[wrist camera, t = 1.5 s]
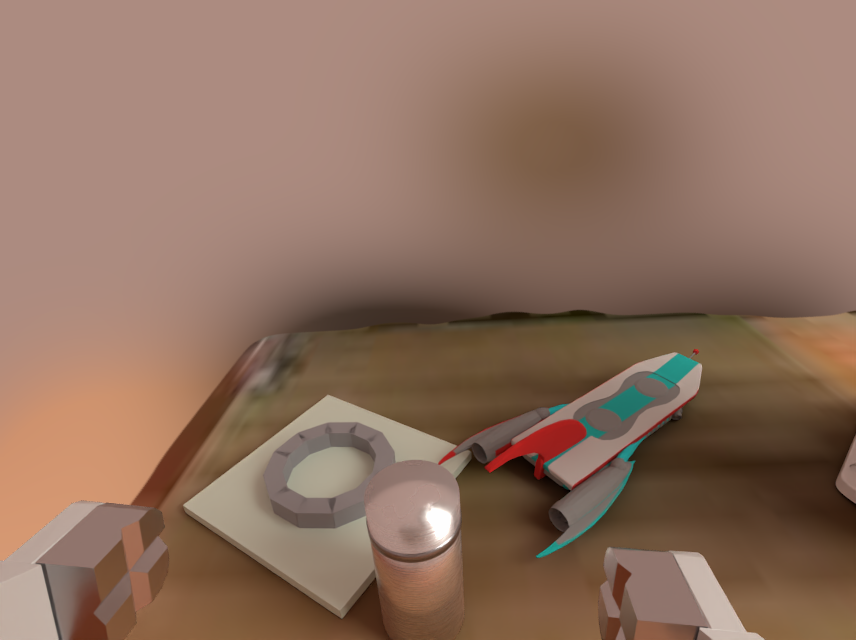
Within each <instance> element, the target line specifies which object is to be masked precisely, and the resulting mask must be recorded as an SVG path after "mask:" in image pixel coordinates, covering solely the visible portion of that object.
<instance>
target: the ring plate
mask: <svg viewBox="0 0 856 640" xmlns="http://www.w3.org/2000/svg"><path fill="white" fill-rule="evenodd" d="M455 447H457V446H456V445H454V444H451V443H449V442H446V441H443V440H441V439H438V438H436V437H433V436H431V435H428V434H426V433H423V432H421V431H418V430H416V429H413V428H411V427H408V426H406V425H403V424H401V423H398V422H396V421H393V420H391V419H388V418H385V417H383V416H380V415H378V414H375V413H373V412H370V411H368V410H365V409H363V408H360V407H358V406H355V405H353V404H350V403H348V402H345V401H343V400H340V399H338V398H335V397H332V396H330V395H327V396H326V397H324V398H323V399H322V400H321V401H319V402H318V403H317V404H315V405H314V406H313V407H311V408H310V409H309V410H307V411H306V412H305V413H303V414H302V415H301V416H299V417H298V418H297V419H296V420H294V421H293V422H292V423H290V424H289V425H288V426H286V427H285V428H284V429H282V430H281V431H280V432H278V433H277V434H276V435H274V436H273V437H272V438H271V439H269V440H268V441H267V442H265V443H264V444H263V445H261V446H260V447H259V448H257V449H256V450H255V451H253V452H252V453H251V454H249V455H248V456H247V457H246V458H244V459H243V460H242V461H240V462H239V463H238V464H236V465H235V466H234V467H232V468H231V469H230V470H228V471H227V472H226V473H224V474H223V475H222V476H221V477H219V478H218V479H217V480H215V481H214V482H213V483H211V484H210V485H209V486H207V487H206V488H205V489H203V490H202V491H201V492H199V493H198V494H197V495H196V496H194V497H193V498H192V499H190V500H189V501H188V502H186V503H185V504H184V505H183V507H184V510H185V513H187V514H188V515H190V516H191V517H193V518H194V519H195V520H197V521H198V522H200V523H201V524H203V525H204V526H206V527H207V528H209V529H210V530H212V531H213V532H215V533H216V534H218V535H219V536H221V537H222V538H223V539H225V540H226V541H228V542H229V543H231V544H232V545H234V546H235V547H237V548H238V549H240V550H241V551H243V552H244V553H246V554H247V555H248V556H250V557H251V558H253V559H254V560H256V561H257V562H259V563H260V564H262V565H263V566H265V567H266V568H268V569H269V570H271V571H272V572H273V573H275V574H276V575H278V576H279V577H281V578H282V579H284V580H285V581H287V582H288V583H290V584H291V585H293V586H294V587H296V588H297V589H299V590H300V591H301V592H303V593H304V594H306V595H307V596H309V597H310V598H312V599H313V600H315V601H316V602H318V603H319V604H321V605H322V606H324V607H325V608H326V609H328V610H329V611H331V612H332V613H334V614H335V615H337V616H338V617H340V618H341V619H342V618H343V617H344V616H345V615H346V613H347V612H348V611H349V610H350V608H351V607H352V606H353V605H354V603H355V602H356V601H357V600H358V598H359V597H360V596H361V595H362V594H363V592H364V591H365V590H366V589H367V587H368V586H369V585H370V584H371V582H372V581H373V580H374V579H375V577H376V574H375V567H374V561H373V555H372V549H371V543H370V538H369V535H368V530H367V524H366V512H365V505H364V494H365V490H366V487H367V485H368V484H369V482H370V481H371V479H372V478H373V477H374V476H375V475H376V474H377V473H378V472H380V471H381V470H382V469H384V468H386V467H387V466H390V465H392V464H394V463H397V462H401V461H406V460H425V461H430V462H433V463H436V464H438V463H439V461H440V460H441V459H442V458H443V457H444V456H446V455H447V454H448V453H449V452H450V451H452V450H453V449H454V448H455ZM470 460H471V451H469V450H466V451H464V452H461V453H459V454H458V455H456V456H454V457H452V458H450V459H448V460H447V461H445V462H443V463H442V464H441V465H440V466H442V467H444V468H445V469H447V470H448V471H449V472H450V473H451V474H452V475H453V476H454V478H455V479H456V477H457V476H458V475H459V474H460V472H461V471H462V470H463V469H464V468H465V466H466V465H467V464H468V463H469V461H470Z"/></svg>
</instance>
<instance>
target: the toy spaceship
mask: <svg viewBox="0 0 856 640" xmlns="http://www.w3.org/2000/svg"><path fill="white" fill-rule="evenodd" d="M698 352H699V351H698V350H697V349H694V351H693V354H692V356H693V355H694V354H698ZM692 356H691V357H692ZM691 357H690V358H691ZM690 358H687V357H685V356H683V355H681V354H679V353H670V354H667V355H663V356H660V357H656V358H652V359H649V360H645V361H642V362H639V363H636V364H634V365H633V366H631V367H629V368H628V369H626V370H624V371H623V372H621V373H619V374H618V375H616V376H614V377H613V378H611V379H610V380H608V381H606V382H605V383H603V384H601V385H600V386H598V387H596V388H595V389H593V390H591V391H590V392H588V393H586V394H585V395H583V396H582V397H580V398H578V399H577V400H575V401H573V402H572V403H570V404H561V405H558V406H555V407H552V408H543V407H540V408H537V409H536V410H533V411H530V412H527V413H525V414H523V415H520V416H517V417H514V418H512V419H509V420H506V421H503V422H501V423H498V424H496V425H494V426H491V427H489V428H486V429H484V430H482V431H481V432H479V433H477V434H475V435H473V436H471V437H470V438H468V439H467V440H465V441H464V442H462V443H461V444H460V445H458V446H457V447H455V448H454V449H453V450H452V451H450V452H449V453H448V454H447V455H446V456H444V457H443V458H442V459H441V460H440V461H439V463H438V465H441V464H442V463H443V462H445V461H447V460H448V459H450V458H452V457H454V456H456V455H458V454H459V453H461V452H464V451H466V450H468V449H470V448H472V451H473V454H474V456H475V457H476V459H477V460H478V461H479V462H481V463H486V462H489V461H491V462H490V463H489V464H488V465H486V466H485V467H484V468H485V469H486V470H487V471H489V472H490V473H491V472H492V471H494V470H495V469H497V468H498V467H500V466H501V465H503V464H504V463H506V462H507V461H509V460H511V459H513V458H516V457H519V456H523V457H524V458H525V459H526V460H527V461H529V462H530V463H531V464H533V465H534V466H535V471H534V476H535V477H536V478H537V479H539V480H540V479H541V478H543V477H544V476H546V475H547V476H548V477H549V478H551V479H552V480H553V481H555V482H556V483H557V484H558V485H560V486H563V487H564V488H565V489H568V490H571V491H570V492H569V493H568V494H567V495H566V496H564V497H563V498H562V499H561V500H559V501H557V502H556V503H555V504H554V505H553V506H552V507H551V508H550V509H549V517H550V520H551V522H552V523H553V525H554V526H555V527H556V528H557V529H558V530H560V531H562V532H564V533H563V534H562V535H561V536H560V537H559V538H558V539H557V540H556V541H555V542H554V543H553V544H551V545H550V546H549V547H548V548H546V549H545V550H544V551H542V552H541V553H539V554H538V555H536V558H541V557H543V556H546V555H548V554H550V553H552V552H554V551H556V550H558V549H560V548H562V547H564V546H565V545H567V544H569V543H570V542H572V541H574V540H575V539H576V538H578V537H579V536H580V535H582V534H583V533H584V532H586V531H587V530H588V529H590V528H591V527H592V526H593V525H594V524H595V523H596V522H597V521H598V520H599V519H600V518H601V517H602V516H603V515H604V514H605V513H606V511H607V510H608V509H609V507H610V506H611V505H612V503H613V502H614V501H615V499H616V498H617V497H618V495H619V494H620V493H621V491H622V490H623V488H624V486H625V484H626V482H627V480H628V478H629V476H630V474H631V472H632V469H633V464H634V462H635V461H631V462H629V461H628V458H629V457H630V456H631V455H632V454H633V452H634V451H635V450H636V448H637V447H638V445H639V444H640V443H641V442H642V441H643V440H644V439H646V438H647V437H648V436H649V435H651V434H652V433H653V432H655V431H657V429H658V428H661V427H662V425H665V424H666V423H667V422H668V421H670V420H671V417H672V419H673V420H680V419H681V418H682V415H681V414H682V407H683V406H684V405H685V404H687V403H688V402H689V401H691V400H692V399H693V398H694V397H695V396H696V395H697V393H698V390H699V385H700V378H701V372H702V365H701V364H700V363H698V362H696V361H693V360H691V359H690ZM497 456H498V457H497Z"/></svg>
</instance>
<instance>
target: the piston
mask: <svg viewBox="0 0 856 640" xmlns="http://www.w3.org/2000/svg"><path fill="white" fill-rule="evenodd" d="M364 505H365V512H366V524H367V530H368V535H369V538H370V543H371V549H372V555H373V561H374V567H375V574H376V580H377V586H378V592H379V599H380V605H381V611H382V617H383V623H384V627H385V630H386V632H387V634H388V636H389V637H390V639H391V640H454V639H455V638H456V636H457V635H458V633H459V632H460V630H461V628H462V625H463V621H464V590H463V566H462V542H461V523H462V520H461V508H460V495H459V487H458V483H457V481H456V479H455V478H454V476H453V475H452V474H451V473H450V472H449V471H448V470H447V469H445V468H444V467H442V466H440V465H438V464H436V463H433V462H430V461H425V460H406V461H401V462H397V463H394V464H392V465H390V466H387V467H386V468H384V469H382V470H381V471H380V472H378V473H377V474H376V475H375V476H374V477H373V478H372V479H371V481H370V482H369V484H368V485H367V487H366V490H365V494H364Z"/></svg>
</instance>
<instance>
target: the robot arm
mask: <svg viewBox="0 0 856 640" xmlns="http://www.w3.org/2000/svg"><path fill="white" fill-rule="evenodd" d="M836 487H837V488H838V490H839V491H840V492H841V493H842V494H843V495H844V496H846V497H847V498H848V499H850V500H851V501H853V502H854V503H855V504H856V435H855V437H854V439H853V442H852V444H851V446H850V449H849V451H848V454H847V456H846V458H845V461H844V463H843V465H842V468H841V470H840V472H839V475H838V477H837V480H836ZM164 528H165V525H164V520H163V515H162V512H161V511H159V510H158V509H156V508H151V507H142V506H133V505H123V504H114V503H101V502H92V501H78V502H75V503H72V504H71V505H69V506H68V507H67V508H66V509H65V510H64V511H63V512H61V513H60V514H59V515H58V516H57V517H55V518H54V519H53V520H52V521H50V522H49V523H48V524H47V525H46V526H45V527H43V528H42V529H41V530H40V531H39V532H38V533H36V534H35V535H34V536H33V537H32V538H30V539H29V540H28V541H27V542H26V543H24V544H23V545H22V546H21V547H20V548H18V549H17V550H16V551H15V552H14V553H13V554H12V555H10V556H9V557H8V558H7V559H6V560H4V561H0V640H124V639H125V638H126V637H127V635H128V634H129V633H130V631H131V630H132V629H133V627H134V626H135V625H136V623H137V622H136V611H138V610H139V609H141V608H143V607H144V606H146V605H148V604H149V603H151V602H152V601H153V600H154V598H155V597H156V596H157V594H158V593H159V591H160V590H161V588H162V586H163V583H164V581H165V578H166V575H167V573H168V566H169V553H168V547H167V546H166V544H165V543H164V542H163V541H162V540H161V539H160V538H159V535H160V533H161V532H162V530H163V529H164ZM603 566H604V569H605V573H606V576H607V579H608V580H607V581H606V582H605V583H604V584H602V585H601V586H600V593H599V601H598V614H599V626H600V633H601V637H602V640H765V639H763V638H762V637H761V636H759V635H758V634H757V633H750V632H746V630H745V628H744V627H743V625H742V623H741V621H740V620H739V618H738V616H737V614H736V613H735V611H734V609H733V607H732V606H731V604H730V602H729V600H728V599H727V597H726V595H725V593H724V592H723V590H722V588H721V586H720V585H719V583H718V581H717V579H716V578H715V576H714V574H713V572H712V571H711V569H710V567H709V565H708V564H707V562H706V560H705V558H704V557H703V556H702V555H701V554H699V553H698V552H683V551H667V552H666V551H656V550H644V549H631V548H618V547H608V549H607V551H606V553H605V559H604V565H603Z"/></svg>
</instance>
